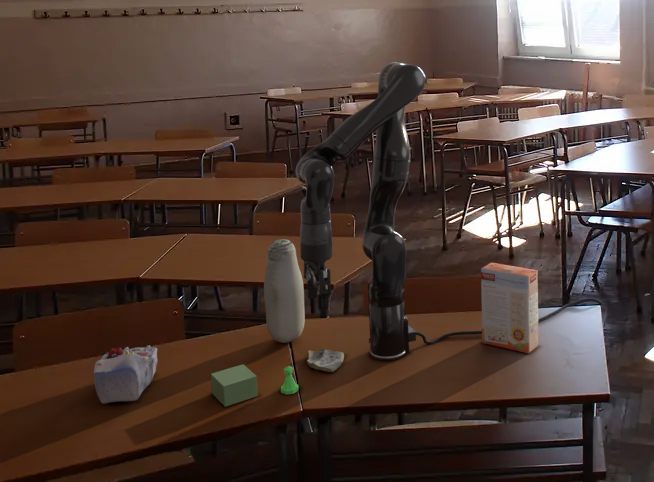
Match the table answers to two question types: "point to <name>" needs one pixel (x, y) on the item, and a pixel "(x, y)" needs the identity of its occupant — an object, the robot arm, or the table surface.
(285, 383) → the game piece
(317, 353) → the ceramic fragment
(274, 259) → the white bottle
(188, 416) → the table surface
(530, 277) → the cracker box
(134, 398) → the cell model
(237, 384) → the green block
